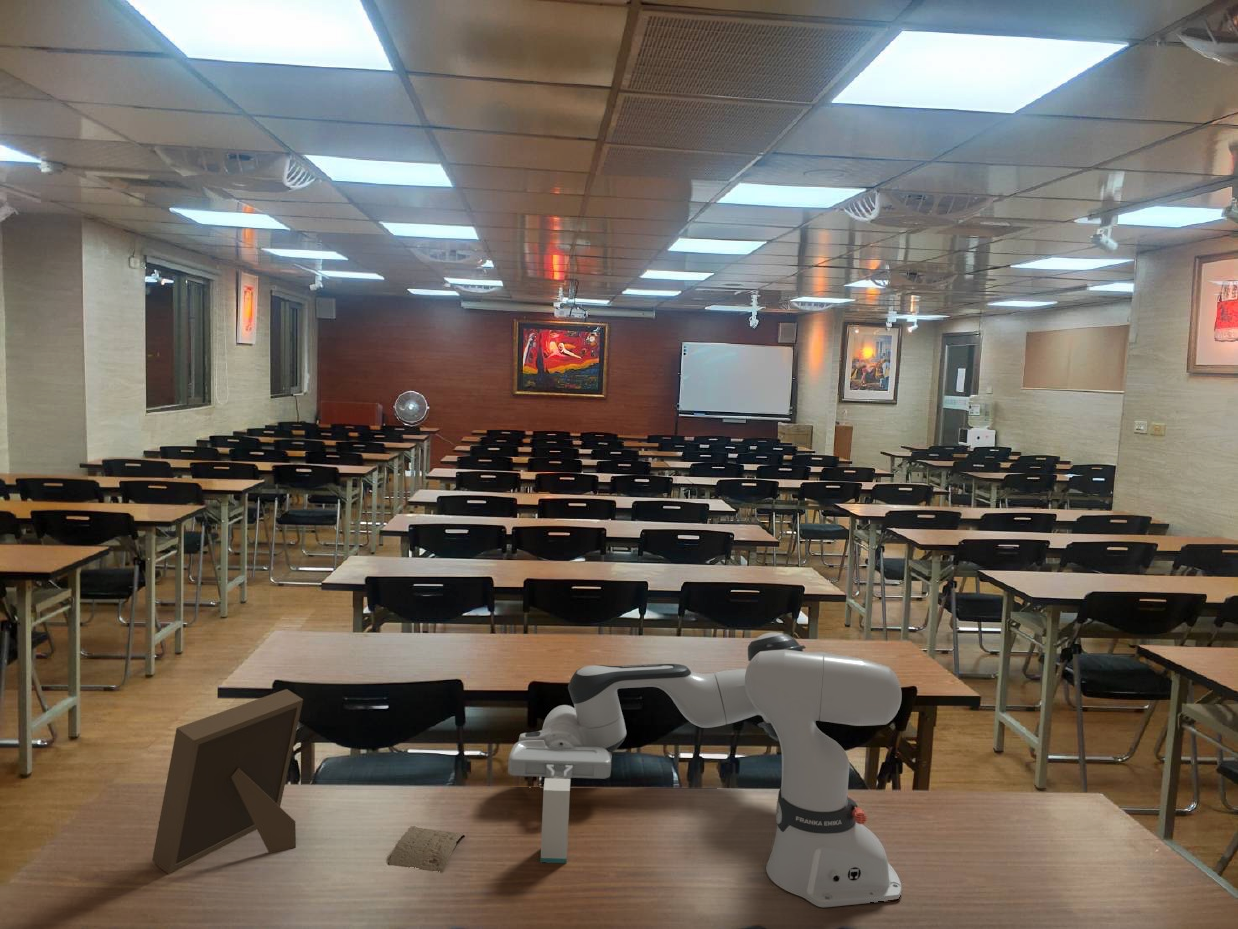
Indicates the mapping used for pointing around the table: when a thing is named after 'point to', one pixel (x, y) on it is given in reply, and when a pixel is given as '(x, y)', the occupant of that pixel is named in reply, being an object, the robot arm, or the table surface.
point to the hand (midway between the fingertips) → (558, 780)
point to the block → (555, 820)
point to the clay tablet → (424, 849)
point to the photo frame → (229, 781)
